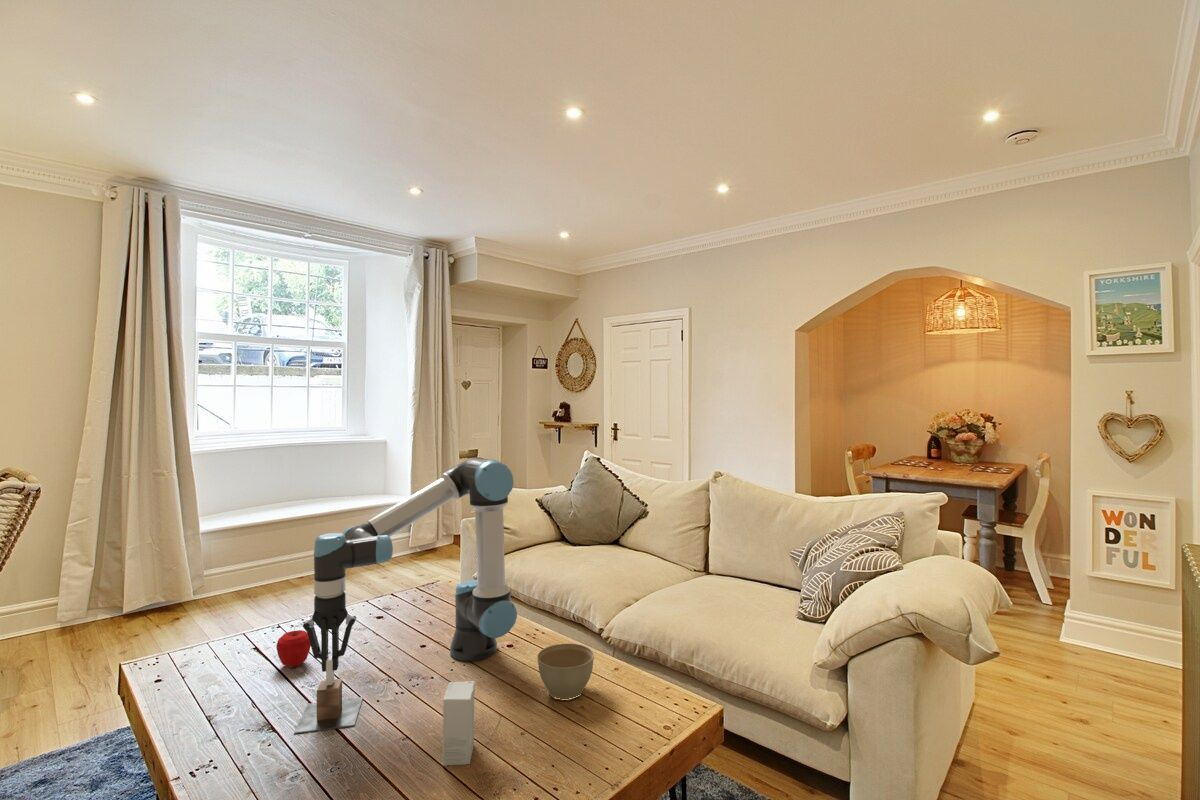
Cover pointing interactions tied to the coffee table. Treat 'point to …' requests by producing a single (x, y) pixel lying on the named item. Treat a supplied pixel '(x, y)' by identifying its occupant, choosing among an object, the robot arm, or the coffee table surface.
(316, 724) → the grey square base plate
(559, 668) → the planter bowl
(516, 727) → the coffee table surface
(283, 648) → the apple
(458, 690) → the skincare box
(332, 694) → the tan wooden block
